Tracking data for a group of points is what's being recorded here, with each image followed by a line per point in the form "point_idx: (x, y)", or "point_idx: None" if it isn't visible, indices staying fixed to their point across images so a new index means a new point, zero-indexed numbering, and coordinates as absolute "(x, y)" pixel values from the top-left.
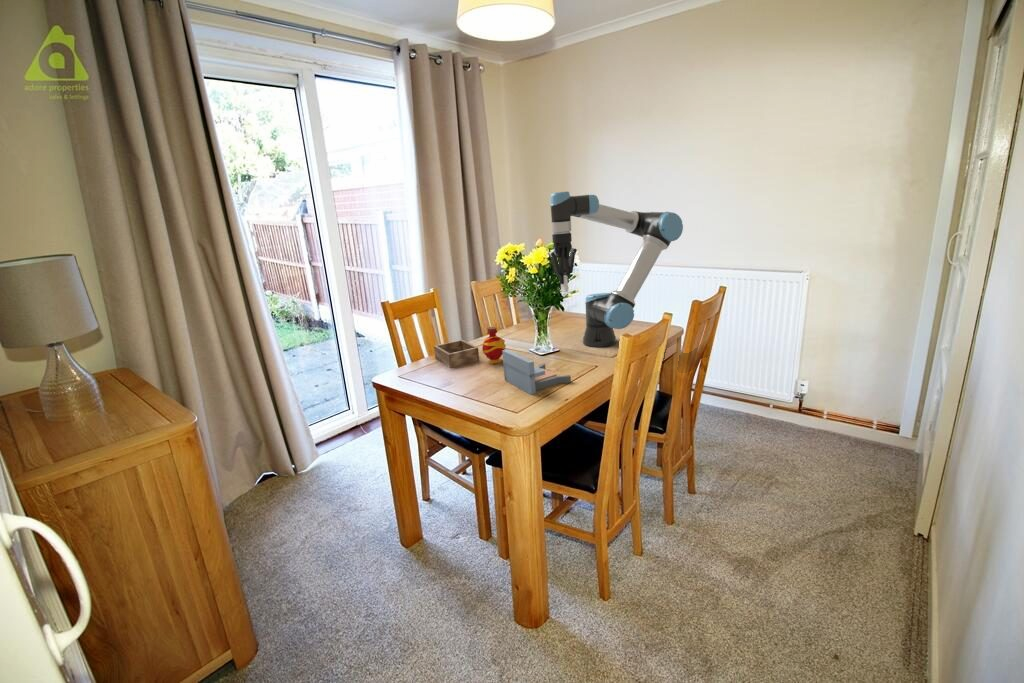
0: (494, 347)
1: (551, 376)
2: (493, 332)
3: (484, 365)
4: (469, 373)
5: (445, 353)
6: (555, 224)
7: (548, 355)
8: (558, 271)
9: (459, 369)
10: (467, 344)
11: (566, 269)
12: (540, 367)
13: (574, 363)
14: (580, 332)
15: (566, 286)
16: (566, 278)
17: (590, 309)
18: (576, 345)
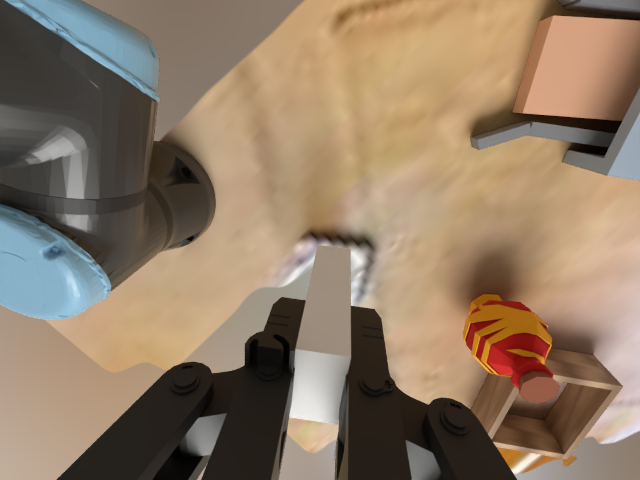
0: (538, 319)
1: (577, 17)
2: (545, 366)
3: (531, 304)
4: (609, 289)
5: (608, 400)
6: None
7: (357, 229)
8: (490, 471)
9: (592, 330)
10: (506, 410)
11: (277, 453)
12: (513, 128)
13: (364, 107)
14: (148, 301)
15: (330, 271)
16: (317, 326)
17: (128, 238)
18: (235, 230)
